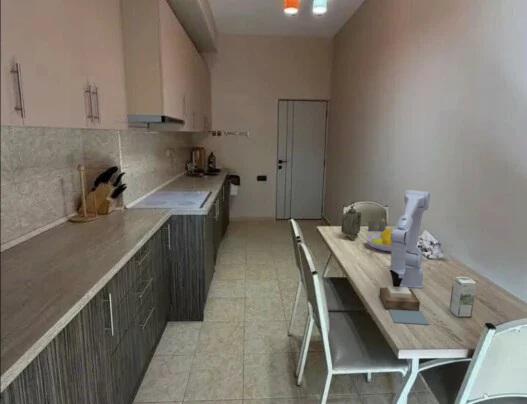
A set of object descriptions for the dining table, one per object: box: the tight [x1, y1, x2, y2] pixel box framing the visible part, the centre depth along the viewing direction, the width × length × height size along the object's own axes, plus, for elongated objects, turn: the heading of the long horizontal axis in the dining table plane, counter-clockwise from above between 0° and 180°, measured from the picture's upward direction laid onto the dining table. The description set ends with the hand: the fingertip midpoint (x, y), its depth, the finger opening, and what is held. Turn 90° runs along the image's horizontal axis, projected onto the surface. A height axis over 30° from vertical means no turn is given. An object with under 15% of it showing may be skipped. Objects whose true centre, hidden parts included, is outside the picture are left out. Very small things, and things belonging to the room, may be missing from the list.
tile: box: [387, 285, 411, 298], centre depth 145 cm, size 8×6×2 cm
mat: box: [388, 310, 430, 326], centre depth 135 cm, size 12×10×1 cm
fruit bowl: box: [365, 227, 393, 253], centre depth 213 cm, size 28×27×11 cm
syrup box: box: [449, 276, 477, 318], centre depth 136 cm, size 6×6×14 cm
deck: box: [378, 287, 421, 311], centre depth 146 cm, size 13×12×4 cm
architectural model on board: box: [367, 217, 387, 232], centre depth 252 cm, size 11×3×10 cm, turn 87°
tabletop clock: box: [340, 201, 362, 242], centre depth 233 cm, size 14×9×25 cm, turn 150°
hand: (396, 287), depth 150 cm, fingers closed
